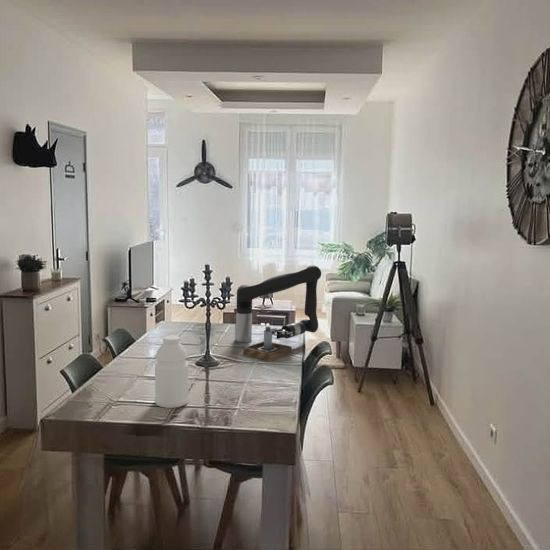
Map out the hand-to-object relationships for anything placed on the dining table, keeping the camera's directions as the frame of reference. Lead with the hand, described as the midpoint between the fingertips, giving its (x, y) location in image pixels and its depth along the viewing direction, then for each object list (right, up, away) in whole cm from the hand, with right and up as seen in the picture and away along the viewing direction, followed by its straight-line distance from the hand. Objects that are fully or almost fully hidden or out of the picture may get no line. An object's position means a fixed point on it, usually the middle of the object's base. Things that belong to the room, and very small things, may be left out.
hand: (271, 335), depth 299 cm
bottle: (-41, -20, -72) cm, 85 cm away
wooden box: (-2, -10, -1) cm, 10 cm away
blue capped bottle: (-2, -9, -1) cm, 9 cm away
